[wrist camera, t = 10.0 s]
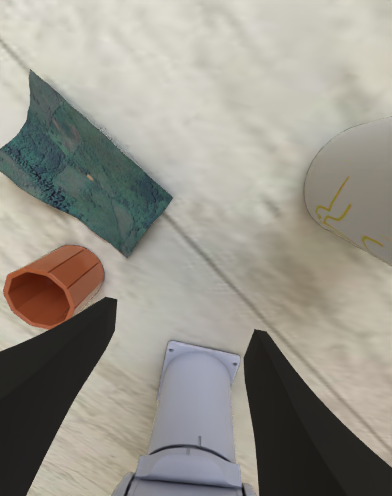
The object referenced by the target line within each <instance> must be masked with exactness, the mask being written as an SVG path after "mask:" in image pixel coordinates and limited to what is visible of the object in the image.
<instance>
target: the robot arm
mask: <svg viewBox="0 0 392 496" xmlns="http://www.w3.org/2000/svg"><path fill="white" fill-rule="evenodd" d="M116 309H117V299H113V298H109V297H105V298H103V299H101V300H100V301H98V302H96V303H95V304H93V305H92V306H90V307H88V308H87V309H85V310H83V311H82V312H80V313H78V314H77V315H75V316H73V317H72V318H70V319H68V320H67V321H65V322H63V323H61V324H59V325H57V326H55V327H54V328H52V329H50V330H48V331H46V332H44V333H42V334H40V335H38V336H36V337H34V338H31V339H29V340H27V341H25V342H23V343H20V344H18V345H16V346H13V347H10V348H8V349H5V350H3V351H0V496H26V495H27V492H28V490H29V488H30V486H31V484H32V482H33V480H34V478H35V476H36V474H37V472H38V470H39V467H40V465H41V463H42V461H43V459H44V457H45V455H46V453H47V451H48V449H49V447H50V445H51V443H52V441H53V439H54V437H55V435H56V433H57V431H58V429H59V427H60V425H61V424H62V422H63V420H64V418H65V416H66V414H67V412H68V410H69V408H70V406H71V404H72V403H73V401H74V399H75V398H76V396H77V394H78V392H79V391H80V389H81V388H82V386H83V385H84V383H85V381H86V380H87V378H88V377H89V375H90V374H91V372H92V370H93V369H94V367H95V366H96V364H97V363H98V361H99V359H100V358H101V356H102V355H103V353H104V351H105V350H106V348H107V346H108V344H109V342H110V340H111V338H112V335H113V333H114V331H115V322H116ZM234 362H236V363H234ZM240 362H241V359H240V356H239V355H236V354H231V353H226V352H222V351H217V350H213V349H208V348H203V347H199V346H194V345H189V344H185V343H180V342H176V341H169V342H168V345H167V350H166V355H165V360H164V365H163V370H162V375H161V380H160V385H159V390H158V395H157V400H158V401H159V402H158V407H157V411H156V415H155V420H154V424H153V428H152V432H151V437H150V441H149V445H148V450H147V454H146V455H141V456H140V457H139V461H138V465H137V469H136V473H134V472H130V473H127V474H126V475H125V476H124V478H123V479H122V481H121V482H120V483H119V484H118V485H117V486H116V488H115V489H114V491H113V493H112V495H111V496H257V494H256V493H255V492H254V490H253V488H252V486H251V485H250V484H248V483H241V472H240V465H239V464H236V457H235V444H234V430H233V417H232V403H231V390H230V388H231V385H232V383H233V380H234V378H235V375H236V372H237V370H238V367H239V364H240ZM244 376H245V384H246V390H247V396H248V402H249V408H250V414H251V419H252V425H253V431H254V438H255V447H256V458H257V470H258V484H259V496H392V467H390V466H389V465H388V464H387V463H386V462H385V461H383V460H382V459H381V458H380V457H379V456H378V455H376V454H375V453H374V452H373V451H372V450H371V449H370V448H369V447H367V446H366V445H365V444H364V443H363V442H362V441H361V440H360V439H359V438H358V437H357V436H356V435H354V434H353V433H352V432H351V431H350V430H349V429H348V428H347V427H346V426H345V425H344V424H343V423H342V422H341V421H340V420H339V419H338V418H337V417H336V416H335V415H334V414H333V413H332V412H331V411H330V410H329V409H328V408H327V407H326V406H325V405H324V403H323V402H322V401H321V400H320V399H319V398H318V397H317V396H316V395H315V394H314V392H313V391H312V390H311V389H310V388H309V387H308V385H307V384H306V383H305V382H304V381H303V379H302V378H301V377H300V376H299V375H298V373H297V372H296V371H295V369H294V368H293V367H292V366H291V364H290V363H289V362H288V360H287V359H286V358H285V356H284V355H283V354H282V352H281V351H280V349H279V348H278V347H277V345H276V344H275V343H274V341H273V340H272V338H271V337H270V336H269V334H268V333H267V332H266V331H261V330H256V329H255V330H254V333H253V335H252V338H251V340H250V343H249V346H248V348H247V351H246V354H245V356H244Z"/></svg>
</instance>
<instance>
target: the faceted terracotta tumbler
mask: <svg viewBox="0 0 392 496" xmlns="http://www.w3.org/2000/svg"><path fill="white" fill-rule="evenodd" d="M103 280H104V270H103V266H102V264H101V262H100V261H99V259H98V258H97V257H96V256H95V255H94V254H93V253H92V252H91V251H89V250H87V249H86V248H83V247H80V246H75V245H64V246H62V247H60V248H58V249H56V250H54V251H51V252H50V253H48V254H46V255H44V256H42V257H40V258H38V259H36V260H34V261H33V262H31V263H29V264H27V265H25V266H23V267H21V268H19V269H17V270H16V271H14V272H12V273H10V274H8V276H7V278H6V282H5V285H4V289H3V292H4V293H3V294H4V296H5V298H6V300H7V302H8V304H9V306H10V309H11V311H13V313H14V314H16V315H17V316H18V317H20V318H21V319H22V320H24V321H25V322H26V323H28V324H29V325H31V326H35V327H39V328H44V329H49V330H50V329H52V328H54V327H55V326H57V325H59V324H61V323H63V322H65V321H67V320H68V319H70V318H72V317H73V316H75V315H77V314H78V313H79V312H80V311H81V310H82V309H83V307H84V306H85V305H86V304H87V303H88V302H89V301H90V300H91V299H92V298H93V297H94V295H95V294H96V293H97V292H98V291H99V289H100V286H101V284H102V282H103Z"/></svg>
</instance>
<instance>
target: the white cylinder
mask: <svg viewBox="0 0 392 496" xmlns="http://www.w3.org/2000/svg"><path fill="white" fill-rule="evenodd" d="M304 198H305V203H306V206H307V209H308V211H309V213H310V215H311V216H312V218H313V219H314V220H315V221H316V222H317V223H318V224H319V225H320V226H322V227H324V228H325V229H327V230H329V231H331V232H332V233H334V234H336V235H338V236H339V237H341V238H343V239H345V240H346V241H348V242H350V243H352V244H353V245H355V246H357V247H359V248H360V249H362V250H364V251H366V252H368V253H369V254H371V255H373V256H375V257H376V258H378V259H380V260H382V261H383V262H385V263H387V264H389V265H390V266H392V116H390V117H387V118H383V119H379V120H376V121H372V122H369V123H365V124H361V125H358V126H355V127H352V128H350V129H347V130H345V131H344V132H342V133H340V134H339V135H337V136H336V137H334V138H333V139H332V140H330V141H329V142H328V143H327V144H326V145H325V146H324V147H323V148H322V149H321V150H320V152H319V153H318V154H317V156H316V157H315V159H314V160H313V162H312V164H311V166H310V168H309V170H308V173H307V176H306V180H305V186H304Z"/></svg>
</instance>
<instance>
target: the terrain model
mask: <svg viewBox="0 0 392 496" xmlns="http://www.w3.org/2000/svg"><path fill="white" fill-rule="evenodd" d="M29 87H30V106H29V110H28V115H27V120H26V122H25V124H24V126H23V127H22V128H21V130H20V132H19V133H18V134H17V136H15V137H14V138H13V139H12V140H11V141H10V142H9V143H8V144H6V145H5V146H3V147H2V148H1V149H0V171H1V172H2V173H3V174H5V175H6V176H7V177H8V178H9V179H10V180H12V181H13V182H14V183H15V184H16V185H17V186H18V187H19V188H21V189H23V190H24V191H25V192H27V193H29V194H30V195H32V196H34V197H35V198H37V199H39V200H41V201H43V202H45V203H47V204H49V205H51V206H53V207H55V208H57V209H59V210H61V211H63V212H66V213H68V214H70V215H72V216H74V217H76V218H78V219H79V220H80V221H82V222H83V223H84V224H85V225H86V226H87V227H88V228H90V229H91V230H92V231H93V232H95V233H96V234H97V235H99V236H100V237H101V238H103V239H105V240H106V241H108V242H109V243H111V244H112V245H113V246H114V247H115V248H116V249H118V250H119V251H120V252H121V253H122V254H123V255H124V256H125V257H126V258H127V257H128V256H129V255H130V253H131V252H132V250H133V249H134V247H135V246H136V244H137V243H138V241H139V240H140V238H141V237H142V236H143V234H144V233H145V231H146V230H147V229H148V228H149V227H150V226H151V224H152V223H153V222H154V221H155V220H156V219H157V218H158V217H159V216H160V215H161V214H162V212H163V211H164V210H165V209H166V207H167V206H168V205H169V203H170V202H171V200H172V198H173V197H172V196H171V195H170V194H169V193H167V192H166V191H165V190H164V189H163V188H162V187H160V186H159V185H158V184H157V183H156V182H154V181H153V180H152V179H151V178H150V177H149V176H148V175H147V174H146V173H145V172H144V171H143V170H142V169H141V168H140V167H138V166H137V165H136V164H135V163H134V162H133V161H132V160H130V159H129V158H128V157H127V156H126V155H125V154H123V153H122V152H121V151H120V150H119V149H118V148H117V147H116V146H115V145H114V144H113V143H112V142H111V141H110V140H109V139H108V138H107V137H106V136H105V135H104V134H103V133H102V132H100V131H99V130H98V129H97V128H96V127H94V126H93V125H92V124H91V123H90V122H89V121H88V120H87V119H86V118H85V117H84V116H83V115H82V114H80V113H79V112H78V111H76V110H75V109H74V108H73V107H72V106H71V105H70V104H69V103H68V102H67V101H66V100H65V99H64V98H63V97H62V96H61V95H60V94H59V93H58V92H56V91H55V90H54V89H53V88H52V87H50V86H49V85H48V84H47V83H46V82H44V81H43V80H42V79H41V78H40V77H39V76H37V75H36V74H35V73H34V72H33V71H32V70H31V69H30V74H29Z"/></svg>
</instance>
